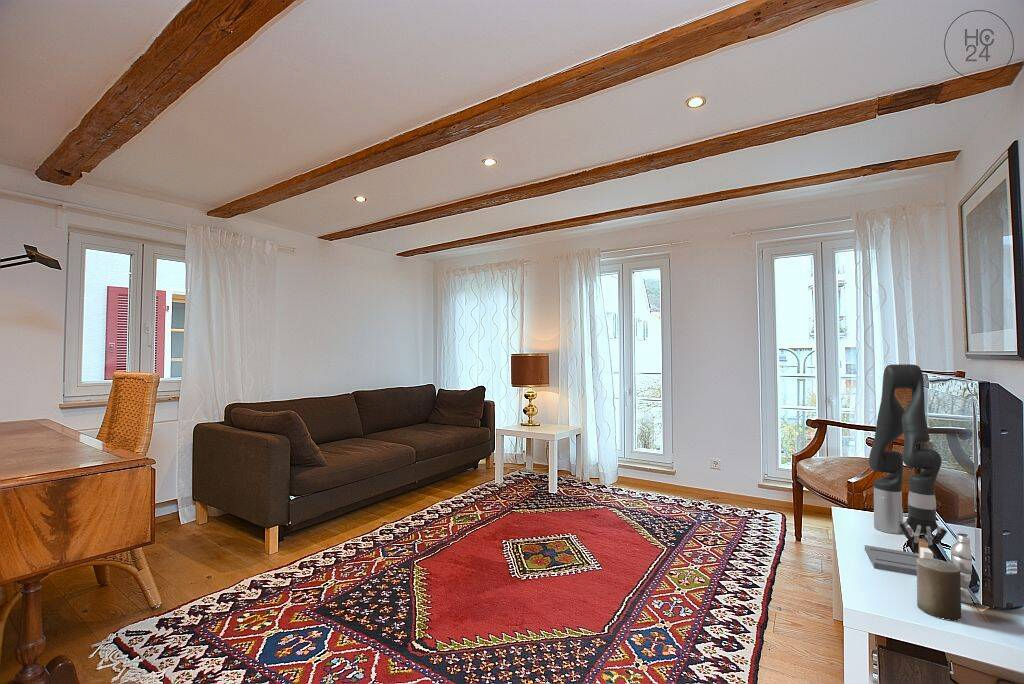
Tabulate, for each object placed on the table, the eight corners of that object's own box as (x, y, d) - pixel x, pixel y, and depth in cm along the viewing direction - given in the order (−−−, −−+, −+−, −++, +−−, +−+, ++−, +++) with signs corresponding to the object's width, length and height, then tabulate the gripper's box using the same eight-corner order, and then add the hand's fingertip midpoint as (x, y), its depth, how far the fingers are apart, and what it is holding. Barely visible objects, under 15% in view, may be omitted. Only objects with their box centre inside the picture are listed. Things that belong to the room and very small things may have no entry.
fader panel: (874, 568, 163) (874, 562, 163) (864, 550, 177) (864, 544, 177) (949, 581, 154) (949, 575, 154) (933, 561, 168) (933, 555, 168)
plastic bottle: (987, 608, 138) (986, 540, 139) (960, 605, 140) (960, 539, 140) (970, 596, 145) (969, 532, 145) (945, 594, 146) (944, 530, 146)
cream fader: (923, 568, 158) (923, 551, 158) (920, 563, 162) (920, 547, 162) (933, 569, 157) (933, 553, 157) (929, 564, 161) (929, 548, 161)
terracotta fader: (919, 558, 166) (919, 542, 166) (916, 553, 169) (916, 538, 169) (928, 559, 165) (928, 543, 165) (924, 554, 168) (924, 539, 168)
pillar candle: (965, 625, 130) (965, 571, 130) (919, 613, 136) (919, 561, 136) (956, 609, 138) (956, 558, 138) (913, 598, 144) (913, 550, 144)
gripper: (943, 504, 167) (943, 553, 167) (894, 498, 173) (894, 545, 173) (951, 511, 160) (951, 562, 160) (900, 505, 167) (900, 553, 167)
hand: (922, 553), depth 167 cm, fingers closed on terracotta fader, 2 cm apart
